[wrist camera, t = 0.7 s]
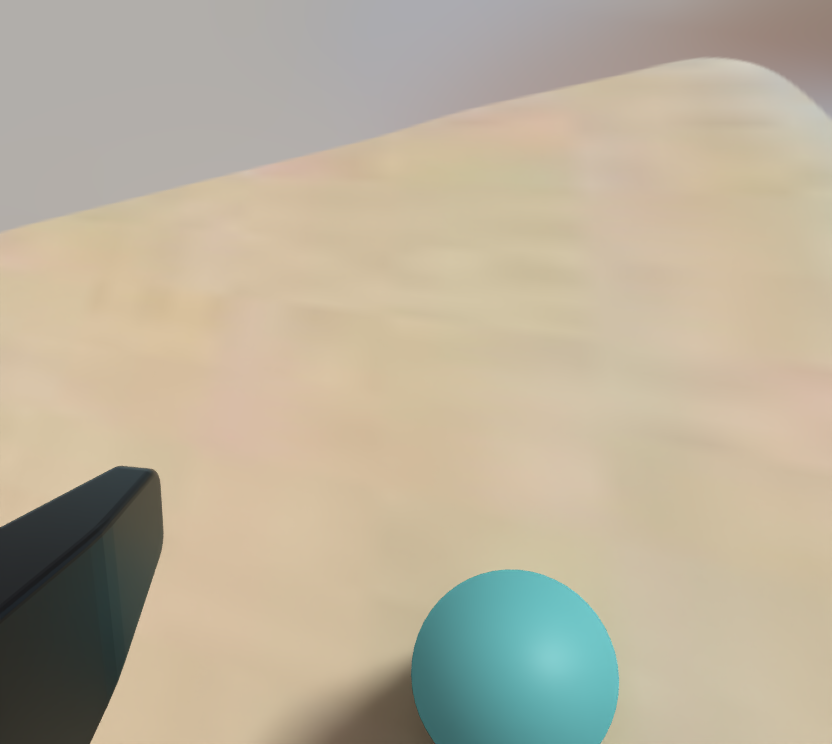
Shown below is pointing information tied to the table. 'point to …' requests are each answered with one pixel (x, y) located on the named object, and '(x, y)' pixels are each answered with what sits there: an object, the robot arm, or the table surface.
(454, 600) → the teal rounded dome
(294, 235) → the table surface
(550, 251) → the table surface
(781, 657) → the table surface
